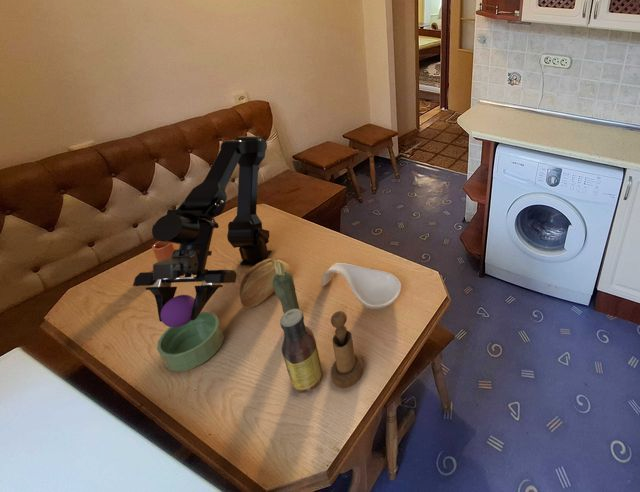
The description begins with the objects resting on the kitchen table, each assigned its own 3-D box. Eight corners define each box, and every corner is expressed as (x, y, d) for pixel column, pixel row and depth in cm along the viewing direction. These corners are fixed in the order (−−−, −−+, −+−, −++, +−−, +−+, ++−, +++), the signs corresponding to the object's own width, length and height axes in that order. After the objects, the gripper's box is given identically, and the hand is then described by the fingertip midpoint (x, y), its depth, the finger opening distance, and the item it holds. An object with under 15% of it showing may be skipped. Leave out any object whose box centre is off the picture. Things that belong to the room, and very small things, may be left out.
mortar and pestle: (354, 391, 75) (344, 331, 68) (326, 384, 76) (313, 325, 69) (368, 361, 81) (360, 304, 74) (342, 356, 82) (332, 298, 75)
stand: (182, 257, 110) (175, 239, 107) (171, 268, 106) (163, 249, 103) (168, 256, 110) (160, 238, 107) (155, 267, 106) (147, 249, 103)
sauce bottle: (298, 366, 79) (281, 301, 71) (327, 365, 80) (313, 300, 72) (287, 397, 73) (267, 330, 65) (318, 395, 74) (302, 328, 66)
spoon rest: (409, 288, 100) (408, 269, 98) (387, 322, 90) (385, 301, 87) (339, 267, 107) (336, 248, 105) (311, 296, 97) (307, 276, 94)
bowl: (234, 329, 88) (229, 313, 85) (202, 374, 77) (195, 357, 75) (189, 327, 88) (183, 311, 86) (152, 372, 78) (143, 355, 75)
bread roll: (230, 306, 94) (222, 284, 90) (273, 267, 107) (268, 246, 104) (260, 316, 91) (253, 293, 88) (300, 274, 104) (295, 253, 101)
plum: (181, 308, 82) (172, 287, 79) (208, 309, 82) (200, 289, 79) (158, 333, 76) (147, 311, 73) (187, 334, 76) (177, 313, 73)
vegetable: (306, 318, 91) (292, 257, 83) (293, 332, 87) (278, 270, 79) (292, 313, 92) (277, 252, 84) (279, 327, 88) (262, 265, 80)
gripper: (123, 244, 74) (97, 327, 69) (216, 241, 76) (199, 322, 70) (162, 248, 85) (142, 321, 79) (243, 246, 86) (230, 317, 81)
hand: (177, 320), depth 77 cm, fingers closed on plum, 6 cm apart
